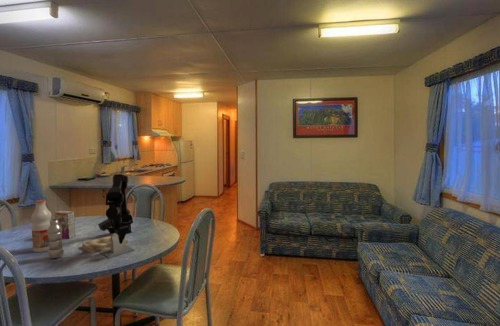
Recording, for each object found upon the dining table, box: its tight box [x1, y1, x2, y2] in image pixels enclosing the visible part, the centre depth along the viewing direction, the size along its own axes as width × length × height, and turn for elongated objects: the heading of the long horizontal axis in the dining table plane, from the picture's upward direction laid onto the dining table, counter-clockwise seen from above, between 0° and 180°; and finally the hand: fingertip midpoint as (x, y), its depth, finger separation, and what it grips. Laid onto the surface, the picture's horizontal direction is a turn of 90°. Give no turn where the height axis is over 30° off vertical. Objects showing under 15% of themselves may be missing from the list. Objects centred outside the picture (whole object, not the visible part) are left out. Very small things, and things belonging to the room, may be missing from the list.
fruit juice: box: [30, 199, 52, 253], centre depth 157 cm, size 9×9×28 cm
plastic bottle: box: [47, 218, 65, 259], centre depth 145 cm, size 6×7×20 cm
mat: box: [99, 244, 136, 259], centre depth 153 cm, size 14×12×1 cm
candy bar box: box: [54, 210, 77, 240], centre depth 177 cm, size 11×5×16 cm, turn 72°
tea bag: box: [110, 233, 127, 253], centre depth 154 cm, size 4×7×10 cm, turn 140°
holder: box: [81, 235, 129, 254], centre depth 163 cm, size 20×14×2 cm
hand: (116, 241), depth 153 cm, fingers open, 9 cm apart
